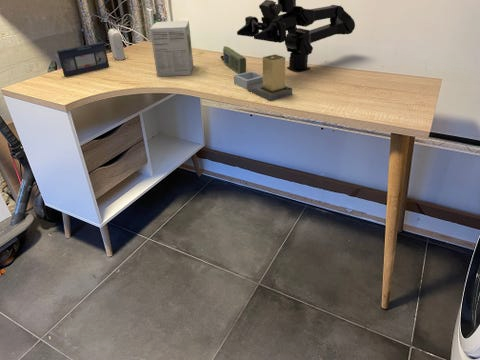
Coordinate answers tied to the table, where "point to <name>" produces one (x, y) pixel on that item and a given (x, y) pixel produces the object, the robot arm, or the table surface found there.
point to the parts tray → (247, 79)
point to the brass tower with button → (273, 73)
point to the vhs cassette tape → (83, 59)
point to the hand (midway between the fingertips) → (245, 35)
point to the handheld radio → (234, 60)
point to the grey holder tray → (259, 91)
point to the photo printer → (116, 44)
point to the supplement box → (172, 48)
